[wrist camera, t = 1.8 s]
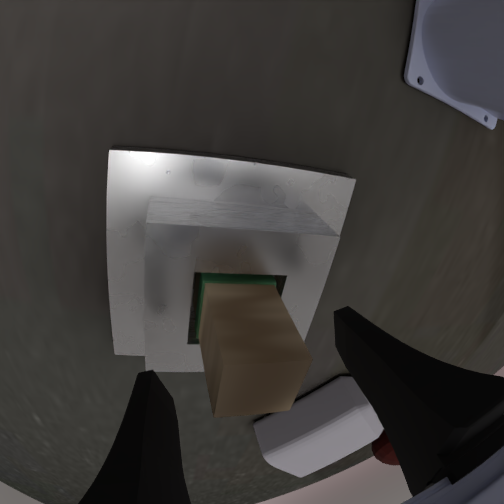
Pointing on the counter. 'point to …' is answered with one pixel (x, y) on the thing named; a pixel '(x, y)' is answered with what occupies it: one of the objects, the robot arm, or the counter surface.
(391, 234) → the counter surface
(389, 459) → the potato
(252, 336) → the post
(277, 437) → the charger
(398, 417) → the robot arm
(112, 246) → the stand
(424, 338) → the counter surface
